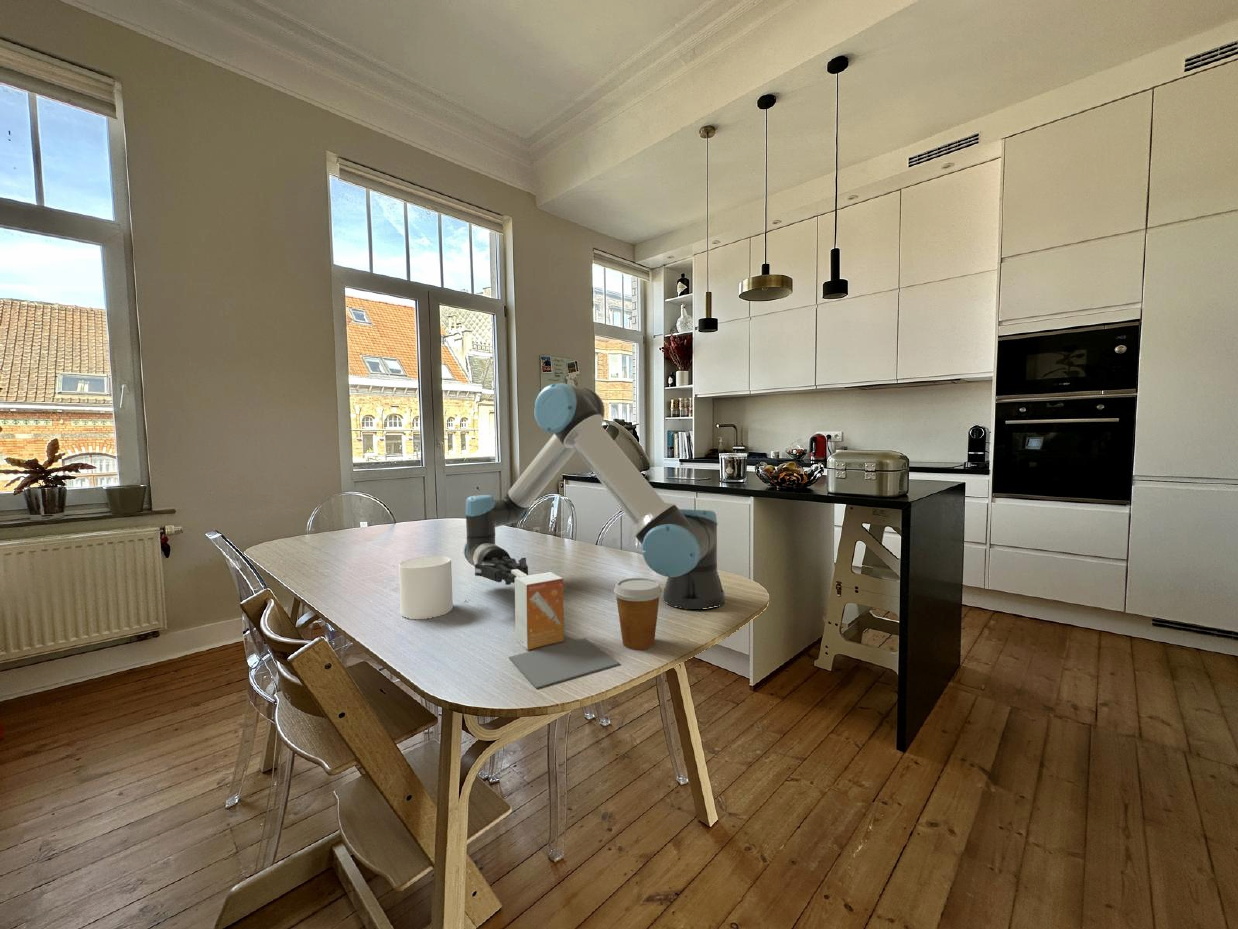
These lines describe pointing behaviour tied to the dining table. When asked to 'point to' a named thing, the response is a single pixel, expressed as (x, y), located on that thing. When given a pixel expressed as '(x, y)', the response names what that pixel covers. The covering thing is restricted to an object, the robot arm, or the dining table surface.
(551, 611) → the small box
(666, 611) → the dining table surface
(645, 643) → the disposable coffee cup
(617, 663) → the rubber mat
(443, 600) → the white cylinder
